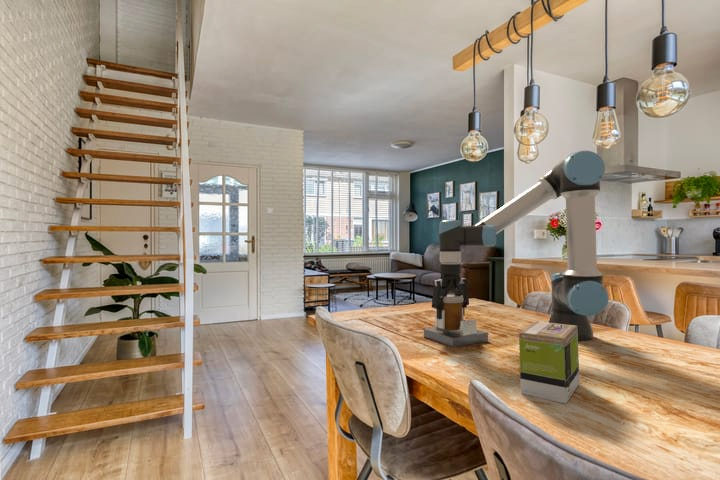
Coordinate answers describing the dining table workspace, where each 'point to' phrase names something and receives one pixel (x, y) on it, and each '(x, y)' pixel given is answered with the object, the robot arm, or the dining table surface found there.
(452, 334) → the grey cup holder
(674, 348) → the dining table surface
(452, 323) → the disposable coffee cup
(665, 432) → the dining table surface
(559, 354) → the tea box
